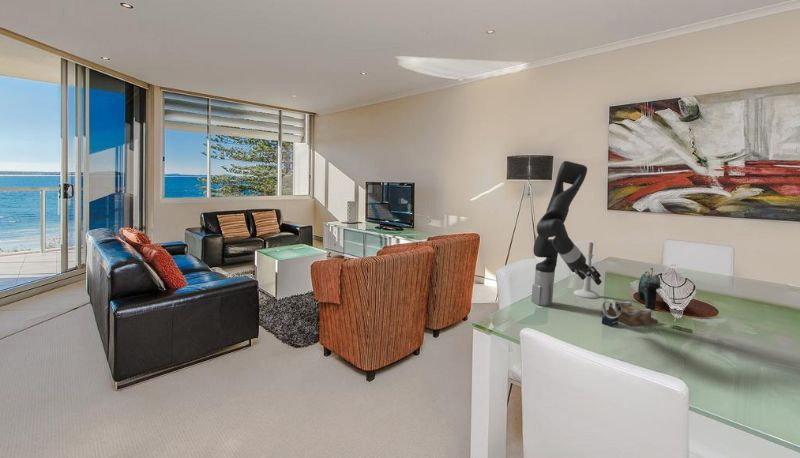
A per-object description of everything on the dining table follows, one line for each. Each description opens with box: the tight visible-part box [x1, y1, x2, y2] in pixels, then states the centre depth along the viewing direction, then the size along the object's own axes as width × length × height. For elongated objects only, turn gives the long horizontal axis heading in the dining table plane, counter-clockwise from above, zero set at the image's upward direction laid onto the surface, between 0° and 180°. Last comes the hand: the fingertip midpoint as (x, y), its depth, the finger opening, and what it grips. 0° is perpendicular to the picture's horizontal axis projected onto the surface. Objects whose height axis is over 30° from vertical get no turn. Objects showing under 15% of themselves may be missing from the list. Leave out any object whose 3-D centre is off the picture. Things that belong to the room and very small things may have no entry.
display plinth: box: [600, 301, 659, 327], centre depth 176 cm, size 16×16×6 cm
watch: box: [601, 298, 622, 328], centre depth 167 cm, size 6×8×11 cm
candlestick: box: [573, 241, 600, 300], centre depth 207 cm, size 13×13×30 cm
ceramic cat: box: [637, 267, 661, 311], centre depth 194 cm, size 20×6×20 cm, turn 161°
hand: (591, 280), depth 161 cm, fingers open, 8 cm apart
